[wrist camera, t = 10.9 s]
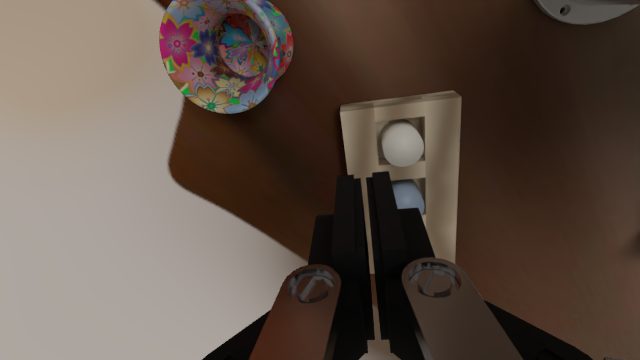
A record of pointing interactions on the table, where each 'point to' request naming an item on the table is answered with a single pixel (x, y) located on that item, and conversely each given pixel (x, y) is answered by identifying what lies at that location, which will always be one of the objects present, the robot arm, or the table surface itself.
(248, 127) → the table surface
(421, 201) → the button slate
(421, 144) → the button ivory
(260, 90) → the multicolour ceramic cup
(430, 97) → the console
